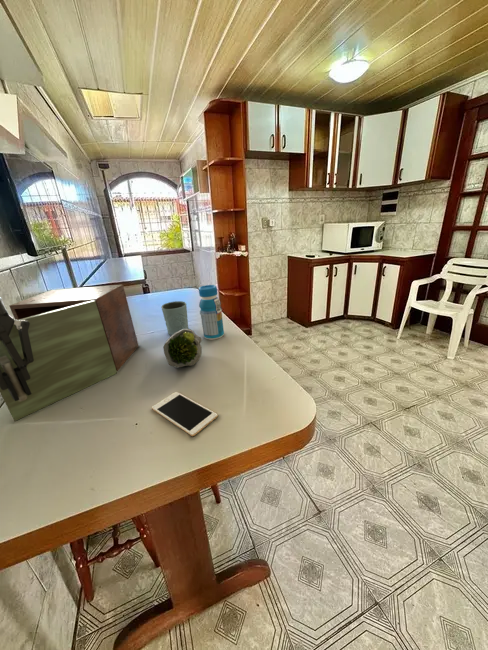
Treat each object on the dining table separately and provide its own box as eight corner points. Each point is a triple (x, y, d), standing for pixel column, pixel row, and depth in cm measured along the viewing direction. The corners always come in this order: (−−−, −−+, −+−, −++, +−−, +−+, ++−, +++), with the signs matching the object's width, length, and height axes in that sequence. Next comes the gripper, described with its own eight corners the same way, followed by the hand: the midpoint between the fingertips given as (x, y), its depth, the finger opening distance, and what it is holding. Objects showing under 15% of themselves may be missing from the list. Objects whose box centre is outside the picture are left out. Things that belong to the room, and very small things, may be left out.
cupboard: (117, 371, 86) (95, 298, 77) (39, 376, 88) (8, 305, 78) (138, 346, 103) (123, 284, 94) (72, 350, 104) (50, 289, 95)
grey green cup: (177, 325, 120) (173, 300, 116) (195, 328, 115) (191, 301, 111) (161, 334, 112) (155, 307, 107) (180, 337, 107) (174, 309, 103)
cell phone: (176, 393, 72) (176, 391, 72) (218, 416, 63) (218, 414, 62) (151, 409, 67) (150, 407, 67) (192, 437, 57) (192, 435, 57)
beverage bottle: (207, 342, 101) (199, 291, 94) (201, 334, 109) (193, 286, 101) (227, 337, 104) (222, 287, 97) (220, 329, 111) (214, 283, 104)
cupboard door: (125, 378, 81) (104, 303, 72) (20, 431, 63) (-27, 339, 54) (115, 371, 86) (93, 300, 77) (13, 418, 68) (-31, 332, 59)
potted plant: (205, 340, 95) (217, 345, 81) (183, 370, 92) (191, 381, 78) (177, 320, 91) (184, 322, 77) (154, 351, 88) (157, 359, 75)
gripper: (15, 288, 61) (51, 375, 70) (-81, 307, 50) (-24, 408, 59) (25, 291, 57) (62, 384, 66) (-77, 313, 46) (-16, 420, 55)
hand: (21, 395), depth 62 cm, fingers closed on cupboard door, 2 cm apart
